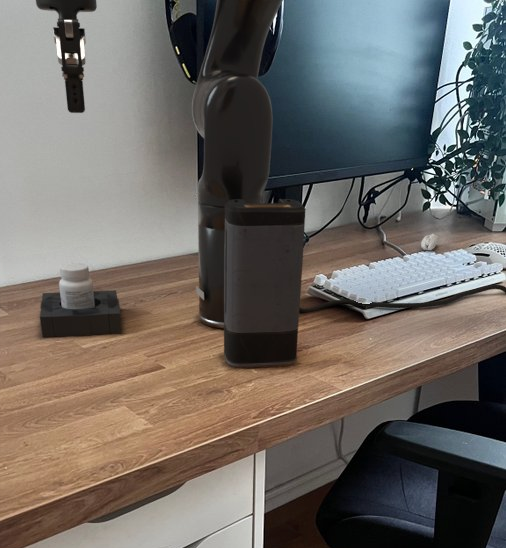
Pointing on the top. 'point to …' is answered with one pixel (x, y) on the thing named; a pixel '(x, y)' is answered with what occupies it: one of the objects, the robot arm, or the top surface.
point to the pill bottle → (76, 287)
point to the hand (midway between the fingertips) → (76, 110)
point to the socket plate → (80, 316)
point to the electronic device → (262, 282)
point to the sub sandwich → (429, 242)
